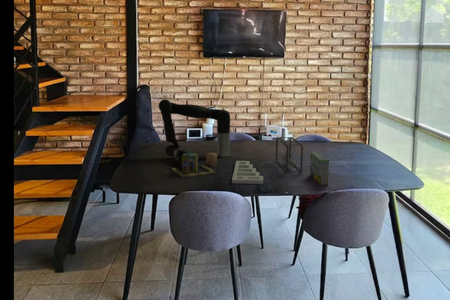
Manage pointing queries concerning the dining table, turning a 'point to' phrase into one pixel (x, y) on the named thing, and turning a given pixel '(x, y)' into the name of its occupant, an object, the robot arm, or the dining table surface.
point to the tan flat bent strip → (195, 173)
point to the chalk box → (189, 163)
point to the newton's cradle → (285, 157)
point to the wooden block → (211, 159)
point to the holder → (246, 174)
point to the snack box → (319, 168)
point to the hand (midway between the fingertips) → (190, 160)
